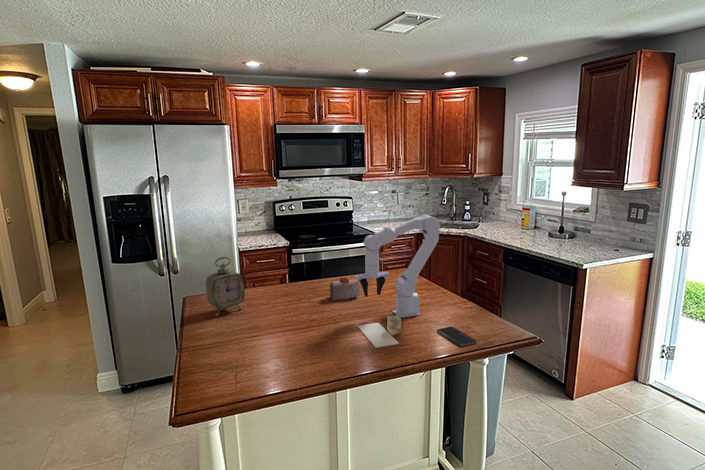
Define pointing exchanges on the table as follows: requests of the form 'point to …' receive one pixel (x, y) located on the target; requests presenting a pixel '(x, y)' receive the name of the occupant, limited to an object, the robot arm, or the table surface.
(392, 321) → the tan and green sponge
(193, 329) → the table surface
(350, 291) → the grey carrying case
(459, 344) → the phone
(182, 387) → the table surface
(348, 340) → the table surface
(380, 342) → the mat
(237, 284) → the tabletop clock
